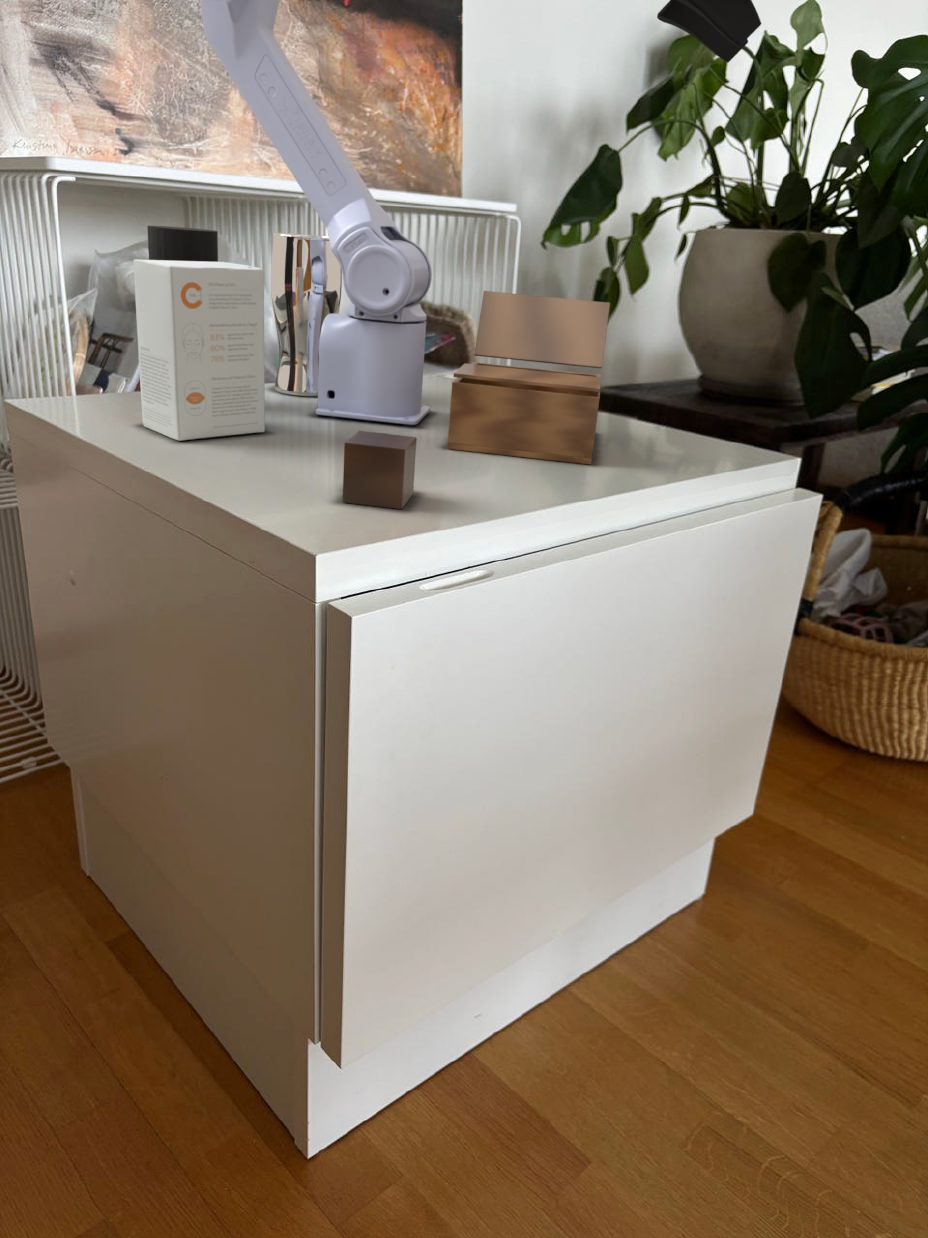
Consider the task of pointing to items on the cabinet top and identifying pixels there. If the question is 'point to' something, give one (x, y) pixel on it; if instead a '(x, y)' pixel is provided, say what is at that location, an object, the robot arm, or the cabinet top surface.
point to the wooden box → (524, 412)
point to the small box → (200, 347)
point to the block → (379, 469)
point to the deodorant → (182, 244)
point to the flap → (542, 329)
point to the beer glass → (302, 306)
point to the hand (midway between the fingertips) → (744, 44)
